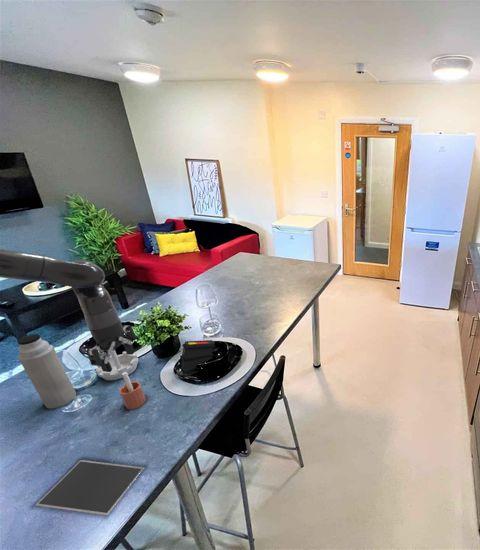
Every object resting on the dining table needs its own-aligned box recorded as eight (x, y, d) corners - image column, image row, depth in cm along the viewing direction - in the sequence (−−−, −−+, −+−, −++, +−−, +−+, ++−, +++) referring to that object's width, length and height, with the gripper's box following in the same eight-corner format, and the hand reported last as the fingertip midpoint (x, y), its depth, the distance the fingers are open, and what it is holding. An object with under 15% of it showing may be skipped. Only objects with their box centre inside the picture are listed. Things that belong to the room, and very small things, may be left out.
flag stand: (138, 376, 117) (115, 313, 104) (96, 388, 111) (66, 322, 98) (142, 357, 127) (121, 298, 115) (103, 367, 121) (77, 305, 109)
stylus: (136, 404, 104) (124, 375, 98) (132, 404, 104) (120, 374, 98) (139, 401, 105) (128, 372, 99) (135, 401, 105) (124, 371, 100)
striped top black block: (173, 375, 116) (183, 341, 115) (206, 371, 126) (216, 339, 126) (176, 380, 114) (187, 345, 113) (210, 375, 124) (220, 343, 123)
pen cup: (137, 411, 102) (130, 394, 99) (122, 409, 102) (115, 393, 99) (150, 398, 107) (144, 382, 104) (135, 397, 108) (129, 380, 104)
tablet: (108, 517, 73) (106, 515, 73) (36, 507, 75) (34, 505, 74) (145, 469, 84) (144, 467, 84) (81, 461, 86) (80, 459, 85)
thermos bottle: (47, 399, 105) (12, 336, 94) (77, 389, 110) (47, 327, 98) (45, 414, 100) (7, 348, 88) (76, 402, 104) (44, 339, 93)
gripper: (113, 309, 97) (127, 347, 104) (69, 334, 84) (89, 376, 91) (133, 310, 97) (147, 349, 103) (93, 336, 84) (111, 378, 90)
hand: (120, 362), depth 97 cm, fingers open, 8 cm apart
